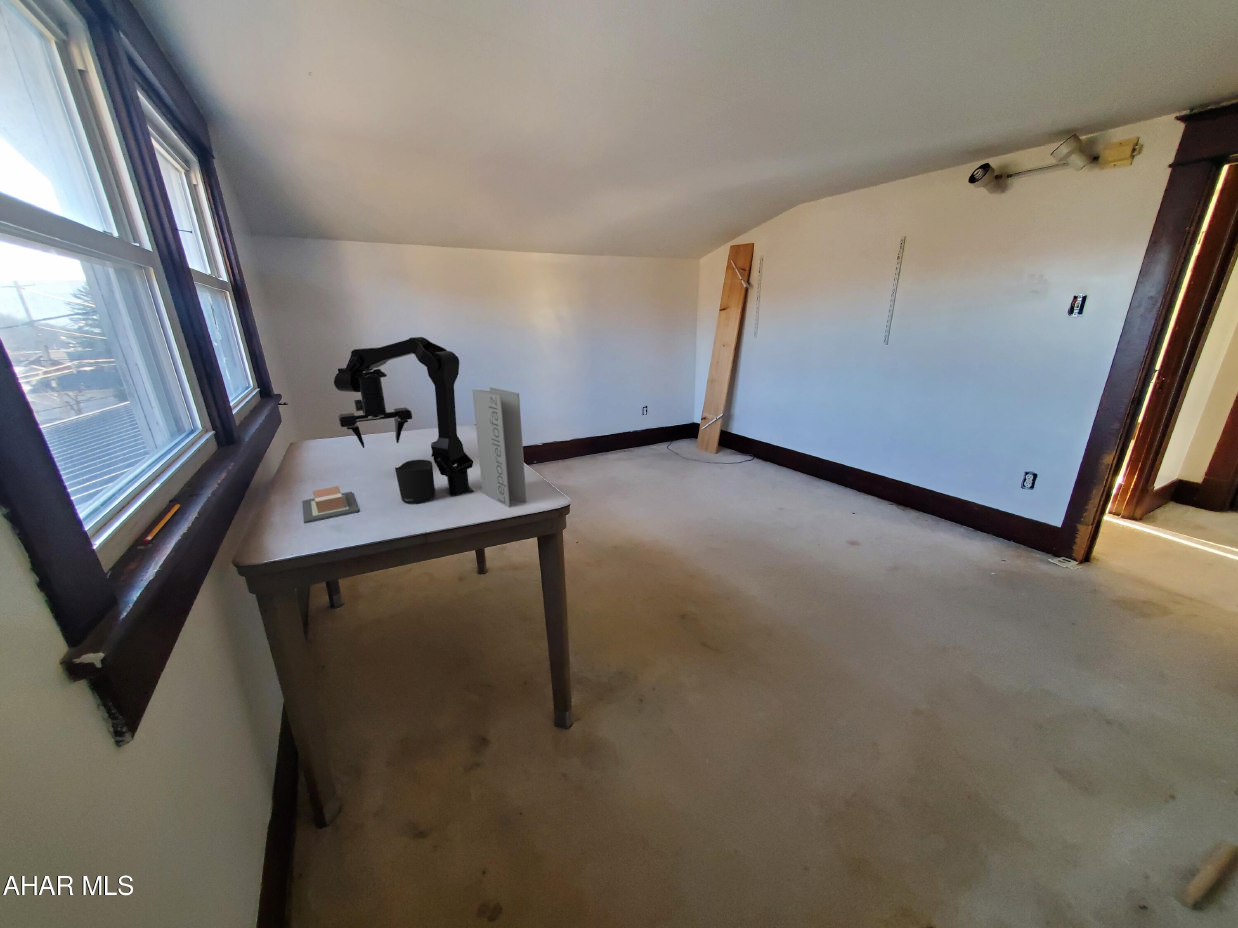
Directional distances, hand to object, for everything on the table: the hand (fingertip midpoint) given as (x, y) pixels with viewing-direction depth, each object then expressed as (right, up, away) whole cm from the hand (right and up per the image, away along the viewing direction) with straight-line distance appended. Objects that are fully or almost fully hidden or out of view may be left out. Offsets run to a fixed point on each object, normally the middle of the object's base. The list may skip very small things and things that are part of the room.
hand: (380, 445), depth 137 cm
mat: (-6, -17, -14) cm, 23 cm away
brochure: (+39, -15, -8) cm, 42 cm away
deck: (-6, -17, -14) cm, 23 cm away
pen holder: (+15, -16, -8) cm, 23 cm away
